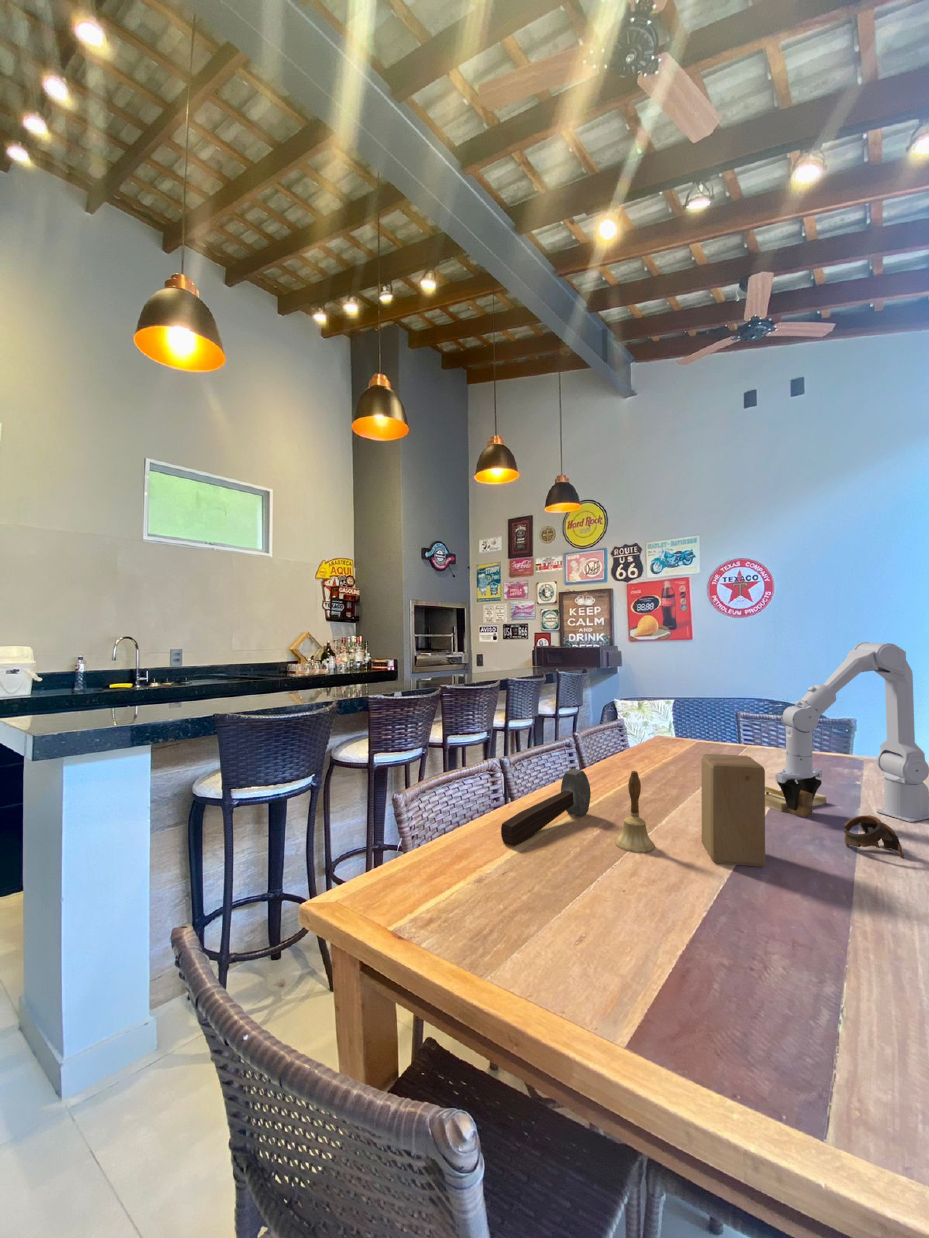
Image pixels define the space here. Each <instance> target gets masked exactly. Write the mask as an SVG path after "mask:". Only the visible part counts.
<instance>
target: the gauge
mask: <svg viewBox="0 0 929 1238" xmlns="http://www.w3.org/2000/svg"><path fill="white" fill-rule="evenodd" d="M766 794H767V795H769V794H775V795H778V796H781V797H784V794H783V792H782V790H781V791H780V790H778V789H775V788H773V787H769V786H765V795H766ZM784 798H785V797H784ZM813 807H814V806H813V802H812V793H809V792H806V791H802V790H800V793H799V798H798V807H797V810H792V809H789V808H787V804H786V811H785V812H786V813H789V814H793V815H796V816H798V817H800V818H806V817H812V816H813V813H814V812H813V811H814V810H813Z"/></svg>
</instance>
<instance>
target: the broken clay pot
mask: <svg viewBox="0 0 929 1238" xmlns="http://www.w3.org/2000/svg"><path fill="white" fill-rule="evenodd" d="M857 825H860V828H861V829H862V831H863V832H864V833H852V832H850V830H851V829H852V828H854V827H855V826H857ZM843 828H844V830H843V832H844V838H843V839H844V844H845V846H846V848H850V846H852V847H856V848H861V847H862V848H863V847H864V848H867V847H874V848H875V847H876V849H877V848H878V849H880V848H881V847H880V845H879V844H880V843H879V841H881V842H882V843H883V847H884V849H890V850H895V851H896V852H898V853H899V857H900V859H904V858H905V857H904V852H903V847H902V844H901V842H900V839H899V837H898V835H897V834H896V832H895V830H893V828H892V827H890V826H889V825H887V824H886V823H884V822H882V821H881V820H880V818H878V817H877V816H873V815H869V814H868V815H860V816H855V817H853V818H851V819H849V820H848V821H846V822H845V823H844V825H843Z"/></svg>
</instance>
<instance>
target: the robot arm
mask: <svg viewBox="0 0 929 1238" xmlns="http://www.w3.org/2000/svg"><path fill="white" fill-rule="evenodd" d="M872 671H873V672H874V673H876V674H878V675H879V676H880V677H881V678H883V680H884V690H885V691H884V693H885V694H884V695H885V718H886V719H885V720H886V722H885V724H886V740H885V741H884V742H882V743H881V744H880V747H879V748H880V749H879V754H878V756H877V759H876V764H877V766H878V769H879V770H880V771H881V772H882V776H883V778H884V780H883V781H884V783H883V786H884V788H883V789H884V791H883V793H884V794H883V796H884V799H883V800H884V807H883V808H878V809H876V810H875V812H876V813H880V814H882V815H885V816H889V817H893V818H895V819H899V820H902V821H906V822H909V823H914V822H919V821H922V820H928V819H929V788H928V786H927V784H926V783H925V781H926V780H927V778H928V777H929V765H928V762H927V761H926V756H925V755H926V753H925V752H924V751H923V750H922V749H921V747H920V746H919V745H918V744H917V743H916V737H915V736H916V734H915V710H914V709H915V707H914V679H913V678H914V675H913V670H912V669H911V666H910V664H909V663H908V660H907V652H906V650H904V649H902V648H901V647H899V646H898V645H897V644H894V643H892V642H891V643H889V642H888V643H881V642H880V643H879V642H878V643H877V642H876V643H875V642H868V641H867V642H866V641H863V642H859V643H858V644H856V645H855V646H854V647H853V649H851V650H850V651H848V652H847V656H846V658H845V660H843V661H842V663H841V664H840V665H839V666H838V667H837V668H836V669H835V670H834V671H833V673H832V674H831V675H830V676H829V677H828V678H827V679H826V680H825V681H824V682H823V684H814V685H812V686H809V687H808V688H807V692H805V694H804V695H803V696H802V697H801V698H800V699H799V700H796V701H795V702H794V705H791V706H787V707H786V708H785V709H784V711H783V713H782V715H780V720H781V722H782V724H783V725H784V727H785V767H782V771H779V772H776V773H775V777H774V778H775V782H776V783H777V784H778V786H779V788H780V789H781V791H782V792H783V794H784V797H785V801H786V804H787V808H789V809H792V810H797V807H798V798H799V793H800V790H802V791H806V792H809V793H812V802H813V799H814V796H815V794H816V793H817V792H818V790H819V788H820V787H821V786H822V780H821V779H817V778H823V769H821V768H820V769H819V768H817V767H813V730H814V729H816V728H817V727H818V724H819V719H820V718H821V716H822V715H823V714H824V713H825V712H826V711H827V710H828V709H829V708H830V707H831V706H832V705H833V704H834V703H835V702H836V701H837V693H838V692H839V691H840V690H842V689H843V688H844V687H845V686H846V685H847V684H849V683H850V682H851V681H852V680H853V679H855V678H856V677H857V676H858V675H859V674H861V673H864V672H865V673H866V672H872Z"/></svg>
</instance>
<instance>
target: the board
mask: <svg viewBox="0 0 929 1238" xmlns="http://www.w3.org/2000/svg"><path fill="white" fill-rule="evenodd" d="M826 804H827V795H824V794H820V793H817V792H816V794H815V796H814V799H813V807H815V806H821V805H826ZM765 807H767V808H770V809H773V810H776V811H778V812H781V813H782V812H786V801H785V798H784V797H781V796H778V795H775V794H772V793H769V795H767V794H766V793H765Z"/></svg>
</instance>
